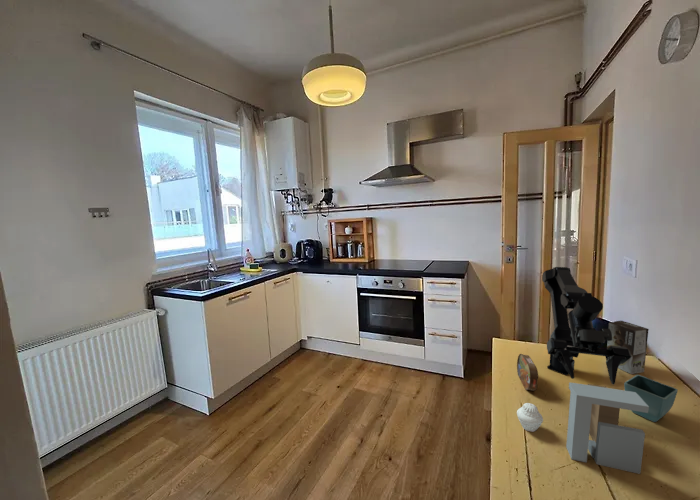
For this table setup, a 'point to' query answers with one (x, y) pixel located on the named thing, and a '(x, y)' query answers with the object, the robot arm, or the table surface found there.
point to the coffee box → (630, 344)
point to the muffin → (529, 417)
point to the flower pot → (652, 396)
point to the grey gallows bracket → (604, 428)
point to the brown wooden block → (602, 416)
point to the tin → (527, 372)
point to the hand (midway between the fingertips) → (592, 381)
